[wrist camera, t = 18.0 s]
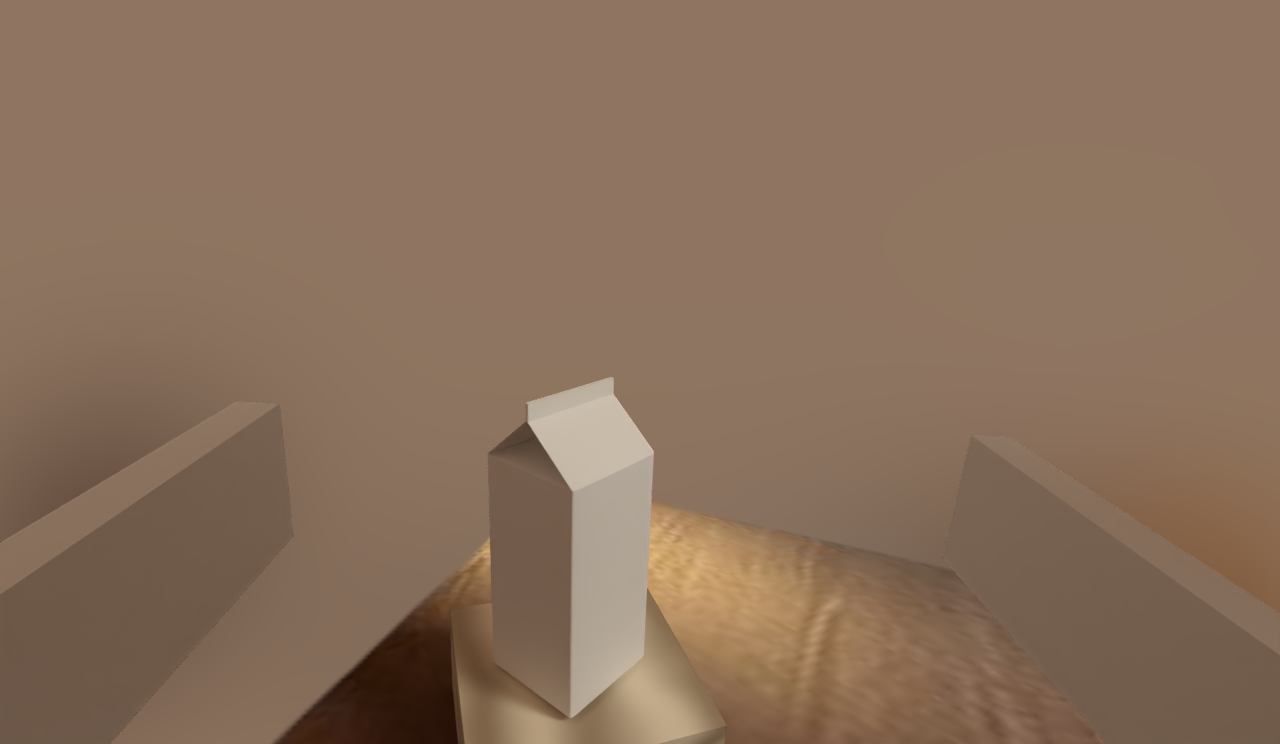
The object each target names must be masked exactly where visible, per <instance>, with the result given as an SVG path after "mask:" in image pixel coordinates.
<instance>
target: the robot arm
mask: <svg viewBox="0 0 1280 744" xmlns="http://www.w3.org/2000/svg"><path fill="white" fill-rule="evenodd" d="M293 536H294V533H293V524H292V515H291V505H290V497H289V487H288V478H287V468H286V459H285V449H284V440H283V430H282V421H281V412H280V404H276V403H254V402H253V403H252V402H235V403H233V404H232V405H230V406H228V407H226V408H225V409H223V410H221V411H220V412H218V413H216V414H215V415H213V416H211V417H210V418H208V419H207V420H205V421H203V422H202V423H200V424H198V425H197V426H195V427H193V428H191V429H190V430H188V431H187V432H185V433H183V434H181V435H180V436H178V437H176V438H175V439H173V440H171V441H170V442H168V443H166V444H165V445H163V446H161V447H160V448H158V449H156V450H155V451H153V452H151V453H150V454H148V455H146V456H145V457H143V458H141V459H140V460H138V461H136V462H135V463H133V464H131V465H130V466H128V467H126V468H124V469H123V470H121V471H119V472H118V473H116V474H115V475H113V476H111V477H109V478H108V479H106V480H104V481H103V482H101V483H99V484H98V485H96V486H95V487H93V488H91V489H89V490H88V491H86V492H84V493H83V494H81V495H79V496H78V497H76V498H74V499H73V500H71V501H69V502H68V503H66V504H64V505H63V506H61V507H59V508H58V509H56V510H54V511H53V512H51V513H49V514H48V515H46V516H44V517H43V518H41V519H39V520H38V521H36V522H34V523H33V524H31V525H29V526H28V527H26V528H24V529H22V530H21V531H19V532H17V533H16V534H14V535H12V536H11V537H9V538H7V539H6V540H4V541H3V542H0V744H110V743H111V742H112V741H113V740H114V739H115V738H116V737H117V735H118V734H119V733H120V732H121V731H122V730H123V729H124V728H125V726H126V725H127V724H128V723H129V722H130V721H131V720H132V719H133V717H134V716H135V715H136V714H137V713H138V712H139V711H140V710H141V708H142V707H143V706H144V705H145V704H146V703H147V702H148V700H149V699H150V698H151V697H152V696H153V695H154V693H156V691H157V690H158V689H159V688H160V687H161V686H162V685H163V683H164V682H165V681H166V680H167V679H168V678H169V677H170V675H171V674H172V673H173V672H174V671H175V670H176V669H177V668H178V666H179V665H180V664H181V663H182V662H183V661H184V660H185V659H186V657H187V656H188V655H189V654H190V653H191V652H192V651H193V650H194V648H195V647H196V646H197V645H198V644H199V643H200V641H201V640H202V639H203V638H204V637H205V636H206V635H207V634H208V632H209V631H210V630H211V629H212V628H213V627H214V626H215V625H216V624H217V622H218V621H219V620H220V619H221V618H222V617H223V616H224V614H225V613H226V612H227V611H228V610H229V609H230V608H231V607H232V605H233V604H234V603H235V602H236V601H237V600H238V599H239V597H240V596H241V595H242V594H243V593H244V592H245V591H246V590H247V588H248V587H249V586H250V585H251V584H252V583H253V582H254V581H255V579H256V578H257V577H258V576H259V575H260V574H261V572H262V571H263V570H264V569H265V568H266V567H267V566H268V565H269V563H270V562H271V561H272V560H273V559H274V558H275V556H276V555H277V554H278V553H279V552H280V551H281V550H282V549H283V548H284V547H285V545H286V544H287V543H288V542H289V541H290V540H291V538H293ZM942 558H943V559H944V560H945V561H946V562H947V564H948V565H949V566H950V567H951V568H952V569H953V570H954V572H955V573H956V574H957V575H958V576H959V577H960V578H961V580H962V581H963V582H964V583H965V584H966V585H967V586H968V588H969V589H970V590H971V591H972V592H973V593H974V594H975V596H976V597H977V598H978V599H979V600H980V601H981V602H982V604H983V605H984V606H985V607H986V608H987V609H988V610H989V612H990V613H991V614H992V615H993V616H994V617H995V618H996V620H997V621H998V622H999V623H1000V624H1001V625H1002V626H1003V628H1004V629H1005V630H1006V631H1007V632H1008V633H1009V634H1010V636H1011V637H1012V638H1013V639H1014V640H1015V641H1016V642H1017V644H1018V645H1019V646H1020V647H1021V648H1022V649H1023V650H1024V652H1025V653H1026V654H1027V655H1028V656H1029V657H1030V658H1031V660H1032V661H1033V662H1034V663H1035V664H1036V665H1037V666H1038V668H1039V669H1040V670H1041V671H1042V672H1043V673H1044V674H1045V676H1046V677H1047V678H1048V679H1049V680H1050V681H1051V682H1052V684H1053V685H1054V686H1055V687H1056V688H1057V689H1058V690H1059V692H1060V693H1061V694H1062V695H1063V696H1064V697H1065V698H1066V700H1067V701H1068V702H1069V703H1070V704H1071V705H1072V706H1073V708H1074V709H1075V710H1076V711H1077V712H1078V713H1079V714H1080V716H1081V717H1082V718H1083V719H1084V720H1085V721H1086V722H1087V724H1088V725H1089V726H1090V727H1091V728H1092V729H1093V730H1094V732H1095V733H1096V734H1097V735H1098V736H1099V737H1100V738H1101V740H1102V741H1103V742H1104V743H1105V744H1280V613H1279V612H1277V611H1276V610H1274V609H1273V608H1271V607H1270V606H1268V605H1267V604H1265V603H1263V602H1262V601H1260V600H1259V599H1257V598H1256V597H1254V596H1253V595H1251V594H1250V593H1248V592H1247V591H1245V590H1243V589H1242V588H1240V587H1239V586H1237V585H1236V584H1234V583H1233V582H1231V581H1230V580H1228V579H1226V578H1225V577H1223V576H1222V575H1220V574H1219V573H1217V572H1216V571H1214V570H1213V569H1211V568H1210V567H1208V566H1206V565H1205V564H1203V563H1202V562H1200V561H1199V560H1197V559H1196V558H1194V557H1193V556H1191V555H1190V554H1188V553H1186V552H1185V551H1183V550H1182V549H1180V548H1179V547H1177V546H1176V545H1174V544H1173V543H1171V542H1170V541H1168V540H1166V539H1165V538H1163V537H1162V536H1160V535H1159V534H1157V533H1156V532H1154V531H1153V530H1151V529H1150V528H1148V527H1146V526H1145V525H1143V524H1142V523H1140V522H1139V521H1137V520H1136V519H1134V518H1132V517H1131V516H1130V515H1128V514H1126V513H1125V512H1123V511H1122V510H1120V509H1118V508H1117V507H1116V506H1114V505H1113V504H1111V503H1110V502H1108V501H1106V500H1105V499H1103V498H1102V497H1100V496H1098V495H1097V494H1096V493H1094V492H1092V491H1091V490H1090V489H1088V488H1086V487H1085V486H1083V485H1082V484H1080V483H1079V482H1077V481H1075V480H1074V479H1072V478H1071V477H1069V476H1068V475H1066V474H1065V473H1063V472H1062V471H1060V470H1059V469H1057V468H1056V467H1054V466H1052V465H1051V464H1049V463H1048V462H1046V461H1045V460H1043V459H1041V458H1040V457H1039V456H1037V455H1036V454H1034V453H1032V452H1031V451H1029V450H1028V449H1026V448H1025V447H1023V446H1022V445H1020V444H1019V443H1017V442H1016V441H1014V440H1013V439H1011V438H1009V437H998V436H976V435H971V438H970V442H969V446H968V451H967V455H966V459H965V463H964V467H963V472H962V476H961V480H960V484H959V489H958V493H957V497H956V501H955V506H954V510H953V514H952V518H951V522H950V526H949V530H948V535H947V540H946V543H945V547H944V551H943V556H942Z"/></svg>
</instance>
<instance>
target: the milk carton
mask: <svg viewBox="0 0 1280 744" xmlns="http://www.w3.org/2000/svg"><path fill="white" fill-rule="evenodd" d="M613 384H614V378H612V377H610V378H606V379H603V380H600V381H597V382H593V383H590V384H586V385H583V386H580V387H576V388H573V389H570V390H566V391H563V392H560V393H556V394H554V395H550V396H546V397H543V398H540V399H536V400H533V401H530V402H527V403H526V422H525V423H524V424H522V425H521V426H520V427H519V428H518V429H516V430H515V431H514V432H513V433H512V434H510V435H509V436H508V437H507V438H506V439H505V440H503V441H502V442H501V443H500V444H499V445H497V446H496V447H495V448H494V449H493V450H491V451H490V452H489V453H488V483H489V514H490V515H489V517H490V551H491V586H492V620H493V654H494V663H495V664H497V665H498V666H500V667H501V668H502V669H504V670H505V671H506V672H508V673H509V674H510V675H512V676H513V677H514V678H516V679H517V680H518V681H520V682H521V683H523V684H524V685H525V686H527V687H528V688H529V689H531V690H532V691H533V692H535V693H536V694H538V695H539V696H540V697H542V698H543V699H544V700H546V701H547V702H548V703H550V704H551V705H553V706H554V707H555V708H557V709H558V710H559V711H561V712H562V713H563V714H565V715H566V716H568V717H569V718H572V717H574V716H575V715H576V714H578V713H579V712H580V711H581V710H582V709H583V708H585V707H586V706H587V705H588V704H589V703H590V702H592V701H593V700H594V699H595V698H596V697H597V696H598V695H600V694H601V693H602V692H603V691H604V690H605V689H607V688H608V687H609V686H610V685H611V684H612V683H613V682H615V681H616V680H617V679H618V678H619V677H620V676H622V675H623V674H624V673H625V672H626V671H627V670H629V669H630V668H631V667H632V666H633V665H634V664H635V663H637V662H638V661H639V660H640V659H641V658H642V657H643V655H644V639H645V619H646V599H647V579H648V558H649V538H650V518H651V498H652V476H653V456H654V452H653V450H652V448H651V447H650V446H649V444H648V443H647V441H646V440H645V438H644V437H643V436H642V434H641V433H640V432H639V430H638V428H637V427H636V426H635V424H634V423H633V421H632V420H631V419H630V417H629V416H628V414H627V413H626V411H625V410H624V408H623V407H622V406H621V404H620V403H619V401H618V400H617V399H616V397H615V396H614V394H613V386H614V385H613Z"/></svg>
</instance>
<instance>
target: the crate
mask: <svg viewBox="0 0 1280 744" xmlns="http://www.w3.org/2000/svg"><path fill="white" fill-rule="evenodd" d="M450 624H451V663H452V688H453V698H454V708H455V718H456V729H457V739H458V744H724V742H725V735H726V728H727V725H726V724H725V722H724V720H723V718H722V717H721V715H720V713H719V711H718V710H717V708H716V706H715V705H714V703H713V701H712V699H711V698H710V696H709V694H708V692H707V691H706V689H705V687H704V685H703V684H702V682H701V680H700V678H699V677H698V675H697V673H696V672H695V670H694V668H693V666H692V665H691V663H690V661H689V659H688V658H687V656H686V654H685V652H684V651H683V649H682V647H681V646H680V644H679V642H678V640H677V639H676V637H675V635H674V633H673V632H672V630H671V628H670V626H669V625H668V623H667V621H666V620H665V618H664V616H663V614H662V613H661V611H660V609H659V607H658V606H657V604H656V602H655V600H654V599H653V597H652V595H651V594H650V592H649V590H648V588H647V599H646V619H645V639H644V655H643V657H642V658H641V659H640V660H639V661H638V662H637V663H635V664H634V665H633V666H632V667H631V668H630V669H629V670H627V671H626V672H625V673H624V674H623V675H622V676H620V677H619V678H618V679H617V680H616V681H615V682H613V683H612V684H611V685H610V686H609V687H608V688H607V689H605V690H604V691H603V692H602V693H601V694H600V695H598V696H597V697H596V698H595V699H594V700H593V701H592V702H590V703H589V704H588V705H587V706H586V707H585V708H583V709H582V710H581V711H580V712H579V713H578V714H576V715H575V716H574V717H572V718H569V717H568V716H566V715H565V714H563V713H562V712H561V711H559V710H558V709H557V708H555V707H554V706H553V705H551V704H550V703H548V702H547V701H546V700H544V699H543V698H542V697H540V696H539V695H538V694H536V693H535V692H533V691H532V690H531V689H529V688H528V687H527V686H525V685H524V684H523V683H521V682H520V681H518V680H517V679H516V678H514V677H513V676H512V675H510V674H509V673H508V672H506V671H505V670H504V669H502V668H501V667H500V666H498V665H497V664H495V663H494V654H493V620H492V603H488V604H481V605H475V606H469V607H463V608H457V609H451V610H450Z"/></svg>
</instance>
